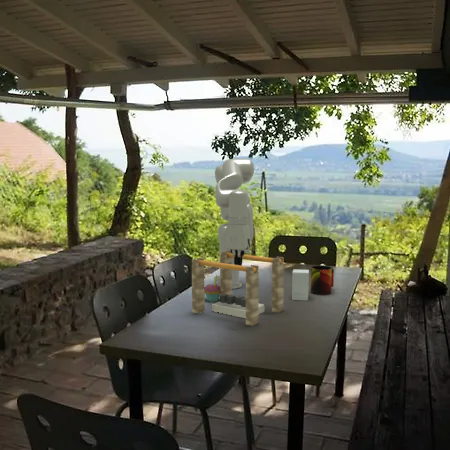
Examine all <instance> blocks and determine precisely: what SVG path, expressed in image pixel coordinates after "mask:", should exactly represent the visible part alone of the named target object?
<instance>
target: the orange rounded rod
mask: <svg viewBox="0 0 450 450" xmlns="http://www.w3.org/2000/svg"><path fill="white" fill-rule="evenodd" d="M199 265H203V266H204V267H211V268H219V269H220V268H224V269H231V270H238V271H239V272H245V273H246V267H247V265H242V266H240V265H233V264H225V263H220V262H218V261H217V262H216V261H209V260H204V261H203V260H199ZM254 272H256V268H254Z"/></svg>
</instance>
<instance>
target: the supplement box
mask: <svg viewBox="0 0 450 450" xmlns="http://www.w3.org/2000/svg"><path fill="white" fill-rule="evenodd" d="M291 280H292V281H291V284H292V285H291V300H293V301H305V302H306V301H309V290H310V289H309V287H310V285H309V284H310V270H309V269H297V268H296V269H294V268H293V270H292V278H291Z"/></svg>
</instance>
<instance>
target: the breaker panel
mask: <svg viewBox="0 0 450 450" xmlns="http://www.w3.org/2000/svg"><path fill="white" fill-rule="evenodd" d="M211 306H212V307H211V312H212V311H214V312H213V313H217V312H219V313H218V314H222V313H223V315H226V314H227V315H228V316H231V315H232V316H231V317H236V318H237V317H238V318H243V319H246V297H245V296H244V295H237V296H236V295H233V294H232V295H229V294H222V295H221V294H220V296H219V301H216V302H215V303H212V305H211ZM262 313H265V304H264V303H259V315H261V314H262Z"/></svg>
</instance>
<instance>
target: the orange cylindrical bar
mask: <svg viewBox="0 0 450 450" xmlns="http://www.w3.org/2000/svg"><path fill="white" fill-rule="evenodd" d="M227 257H230V258H234V257H233V254H232V253H227ZM272 258H273V257H267V256H266V257H265V256H259V255H250V254H249V255H248V254H244V256H242V260H247V261H255V262H263V263H269V264H272ZM281 262H282V261H281V259H280V263H281Z"/></svg>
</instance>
